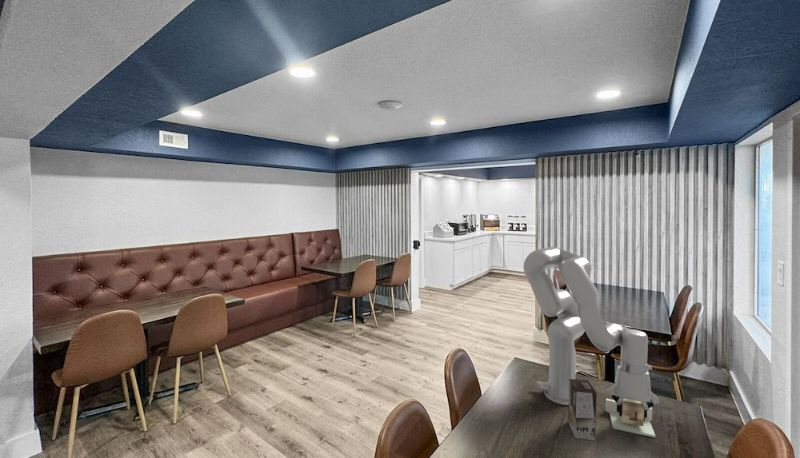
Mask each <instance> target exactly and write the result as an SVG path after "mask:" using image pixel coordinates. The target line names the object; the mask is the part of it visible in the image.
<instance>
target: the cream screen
mask: <svg viewBox="0 0 800 458" xmlns="http://www.w3.org/2000/svg"><path fill="white" fill-rule="evenodd" d="M605 412H606V413H609V414H610V412H613V413H618V414H619V412H617V403H616V402H615V401H614V399H612V398H611V399H610V398H605ZM645 419H648V420H649V421H650V422H652V421H653V407H651V408H649V410H647V418H645Z"/></svg>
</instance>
